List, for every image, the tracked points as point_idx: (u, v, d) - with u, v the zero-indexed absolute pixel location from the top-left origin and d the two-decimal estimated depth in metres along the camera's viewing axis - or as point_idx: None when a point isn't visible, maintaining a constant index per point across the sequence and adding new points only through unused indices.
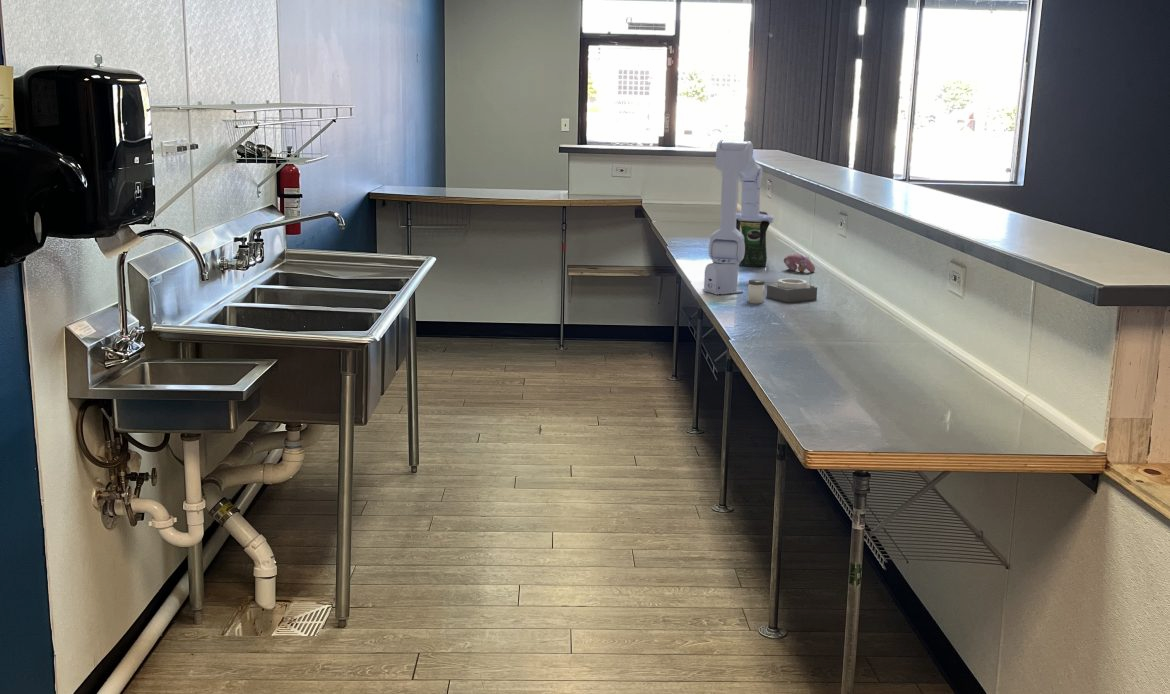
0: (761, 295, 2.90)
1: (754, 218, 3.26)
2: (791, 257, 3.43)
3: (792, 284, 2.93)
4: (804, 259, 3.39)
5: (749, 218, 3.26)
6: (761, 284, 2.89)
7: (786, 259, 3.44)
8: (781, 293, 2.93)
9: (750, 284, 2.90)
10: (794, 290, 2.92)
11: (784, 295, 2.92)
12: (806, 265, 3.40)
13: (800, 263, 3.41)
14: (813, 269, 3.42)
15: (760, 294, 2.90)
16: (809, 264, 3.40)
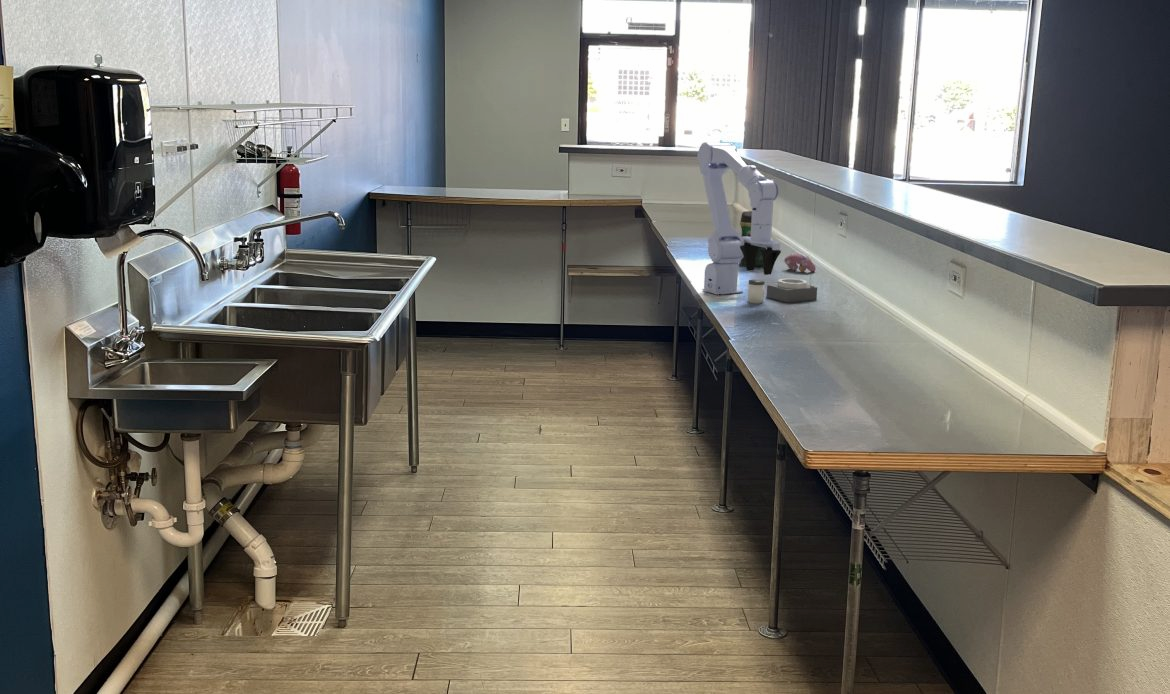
0: (761, 295, 2.90)
1: (758, 242, 2.85)
2: (792, 257, 3.43)
3: (792, 284, 2.93)
4: (805, 259, 3.40)
5: (753, 241, 2.86)
6: (761, 284, 2.89)
7: (787, 259, 3.44)
8: (781, 293, 2.93)
9: (750, 284, 2.90)
10: (794, 290, 2.92)
11: (784, 295, 2.92)
12: (807, 265, 3.40)
13: (801, 263, 3.41)
14: (814, 269, 3.42)
15: (760, 294, 2.90)
16: (810, 264, 3.40)
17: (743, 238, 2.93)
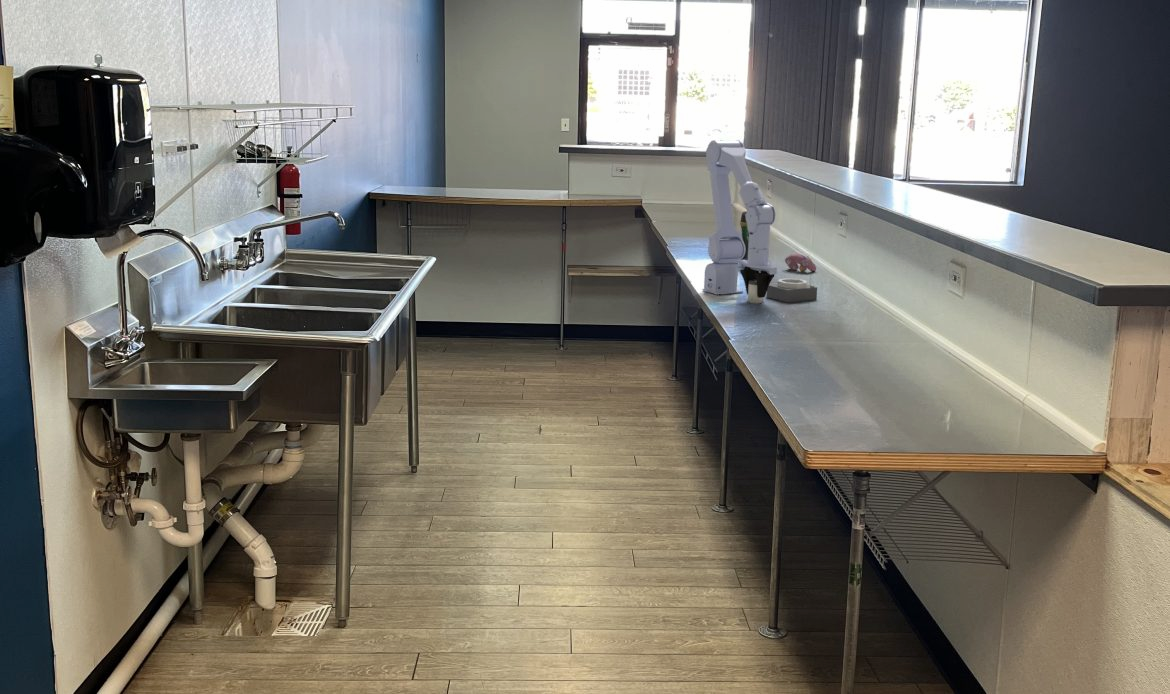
0: None
1: (754, 266, 2.87)
2: (792, 257, 3.43)
3: (792, 284, 2.93)
4: (805, 259, 3.40)
5: (750, 265, 2.88)
6: None
7: (787, 259, 3.45)
8: (781, 293, 2.93)
9: (750, 284, 2.90)
10: (794, 290, 2.92)
11: (784, 295, 2.92)
12: (807, 265, 3.40)
13: (801, 263, 3.42)
14: (814, 269, 3.43)
15: None
16: (810, 264, 3.41)
17: (740, 261, 2.95)
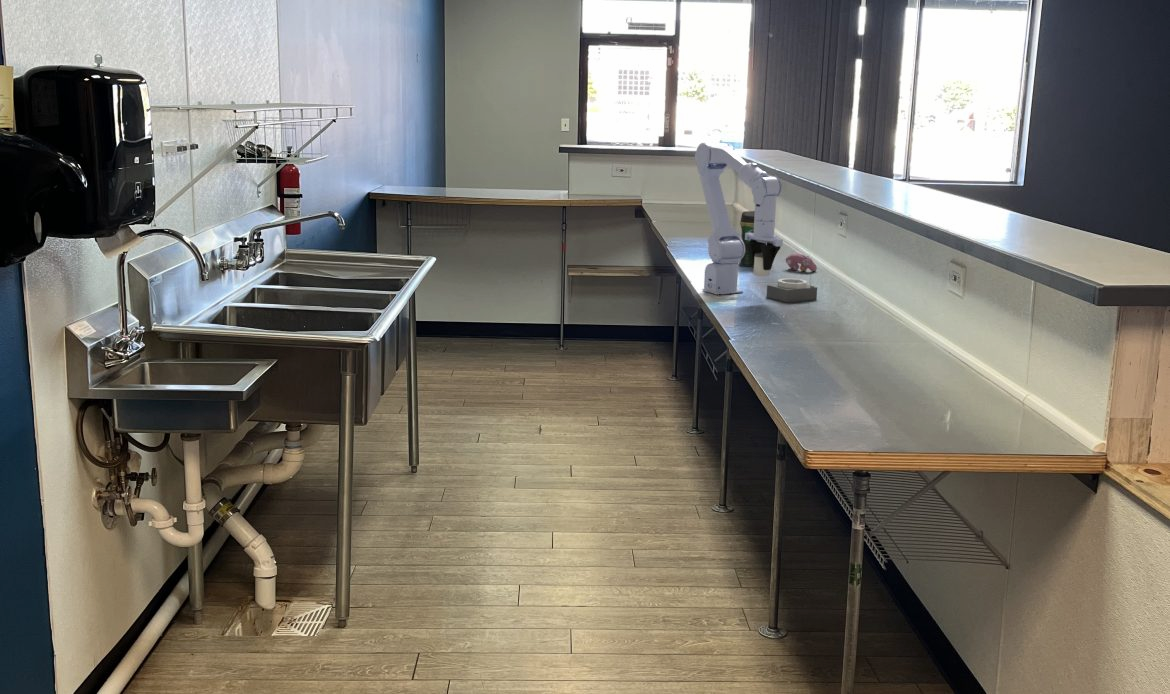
0: None
1: (760, 238, 2.86)
2: (793, 257, 3.44)
3: (792, 284, 2.93)
4: (806, 258, 3.41)
5: (756, 237, 2.87)
6: None
7: (788, 259, 3.45)
8: (781, 293, 2.93)
9: (756, 256, 2.89)
10: (794, 290, 2.92)
11: (784, 295, 2.92)
12: (808, 264, 3.41)
13: (802, 262, 3.42)
14: (815, 268, 3.43)
15: None
16: (811, 263, 3.41)
17: (746, 234, 2.93)
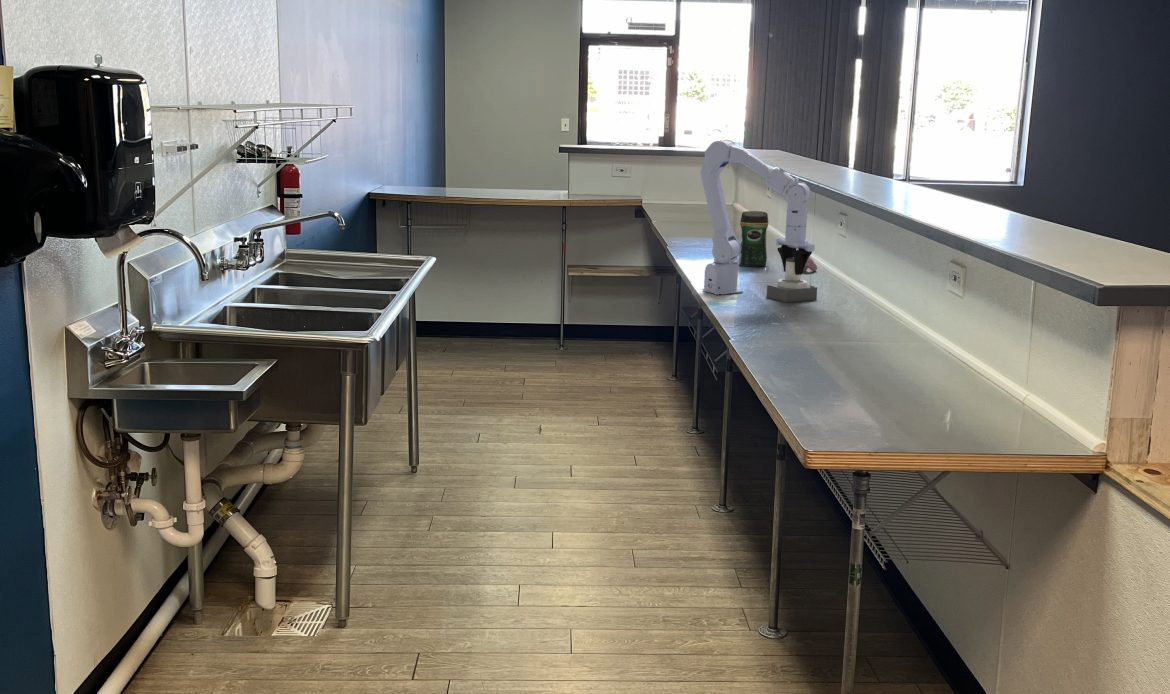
0: None
1: (792, 243, 2.92)
2: None
3: (792, 284, 2.93)
4: None
5: (788, 242, 2.93)
6: None
7: None
8: (781, 293, 2.93)
9: (788, 261, 2.95)
10: (794, 290, 2.92)
11: (784, 295, 2.92)
12: (809, 264, 3.41)
13: None
14: (815, 268, 3.43)
15: None
16: (811, 263, 3.41)
17: (777, 240, 2.99)
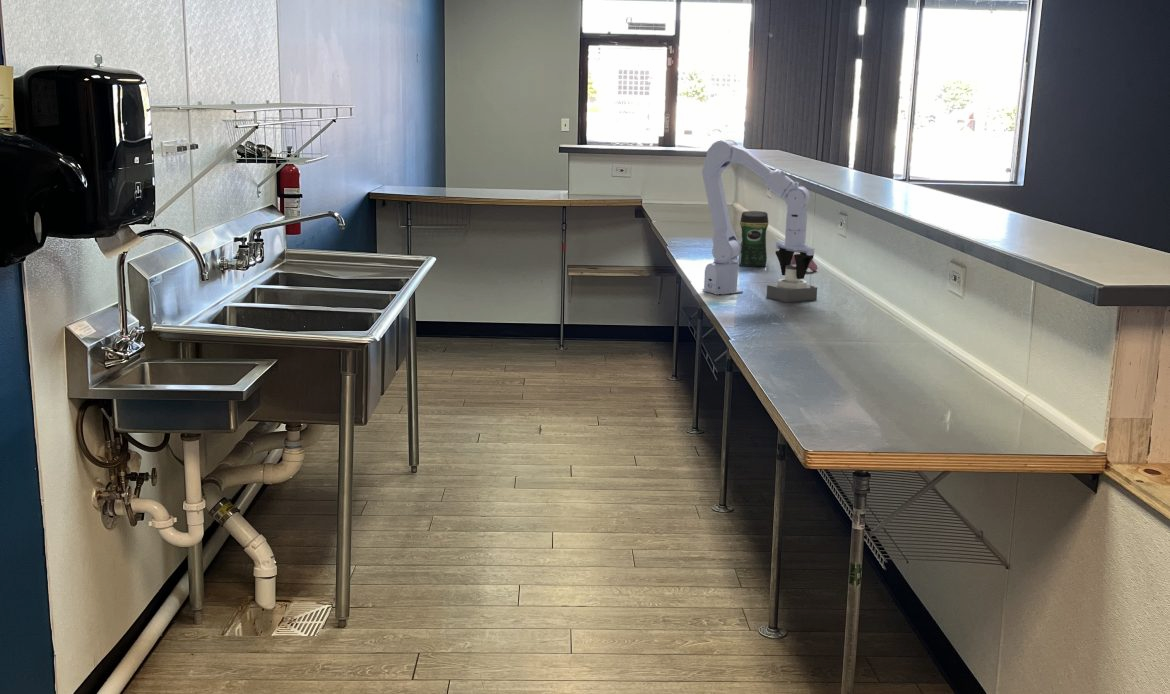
0: (797, 279, 2.95)
1: (792, 247, 2.92)
2: None
3: (792, 284, 2.93)
4: None
5: (787, 246, 2.93)
6: None
7: None
8: (781, 293, 2.93)
9: (787, 268, 2.95)
10: (794, 290, 2.92)
11: (784, 295, 2.92)
12: (809, 264, 3.41)
13: None
14: (816, 268, 3.44)
15: None
16: (812, 263, 3.41)
17: (777, 243, 3.00)
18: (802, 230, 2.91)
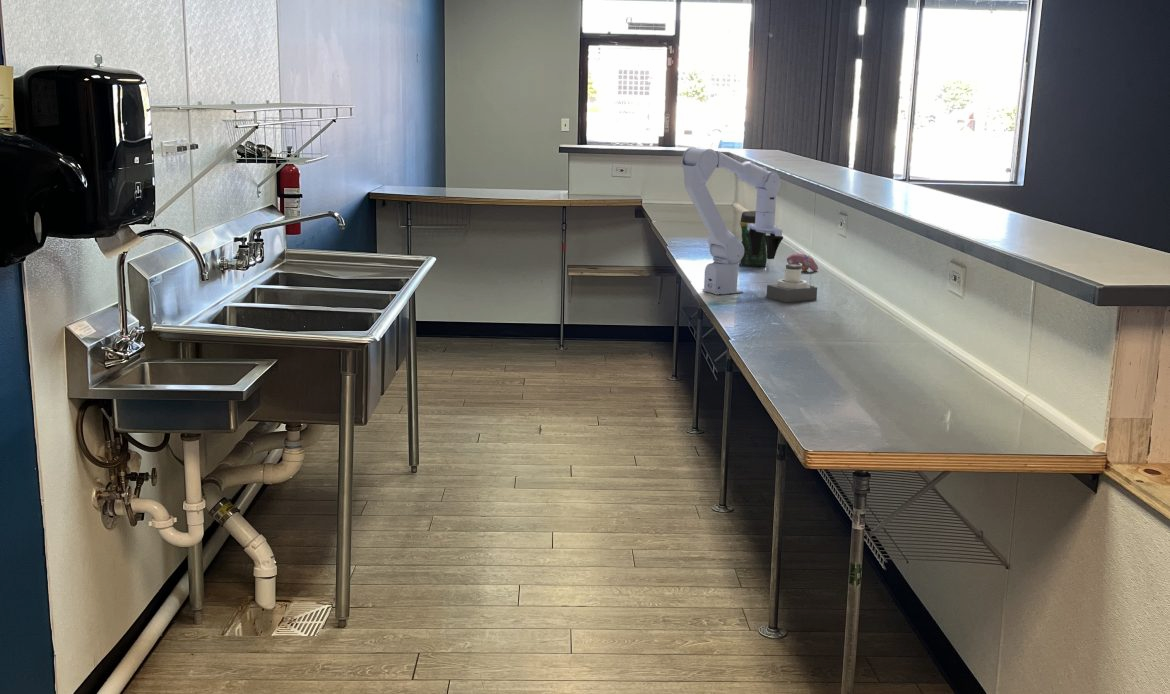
0: (798, 279, 2.95)
1: (761, 228, 3.05)
2: (794, 256, 3.44)
3: (792, 284, 2.93)
4: (807, 258, 3.41)
5: (757, 228, 3.06)
6: (798, 268, 2.94)
7: (789, 258, 3.46)
8: (781, 293, 2.93)
9: (787, 268, 2.95)
10: (794, 290, 2.92)
11: (784, 295, 2.92)
12: (809, 264, 3.41)
13: (803, 262, 3.43)
14: (816, 268, 3.44)
15: (797, 278, 2.95)
16: (812, 263, 3.42)
17: (749, 225, 3.13)
18: (771, 212, 3.05)
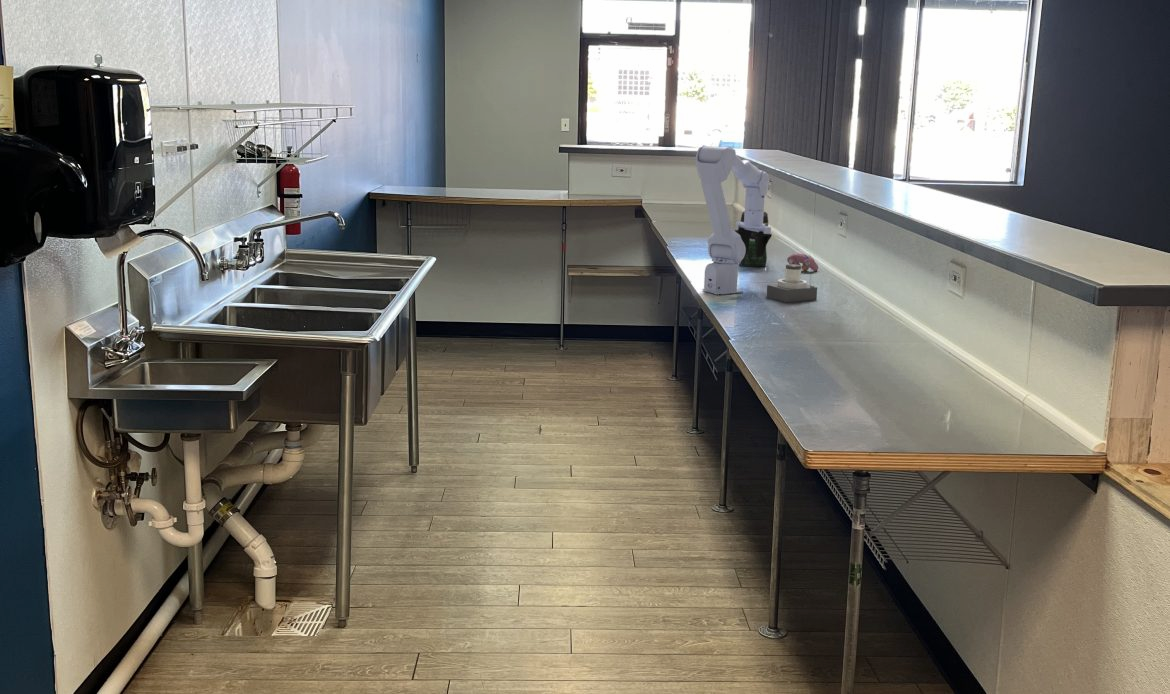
0: (798, 279, 2.95)
1: (750, 226, 3.11)
2: (795, 256, 3.45)
3: (792, 284, 2.93)
4: (808, 258, 3.41)
5: (746, 226, 3.12)
6: (798, 268, 2.94)
7: (790, 258, 3.46)
8: (781, 293, 2.93)
9: (787, 268, 2.95)
10: (794, 290, 2.92)
11: (784, 295, 2.92)
12: (810, 264, 3.42)
13: (804, 262, 3.43)
14: (817, 268, 3.44)
15: (797, 278, 2.95)
16: (813, 263, 3.42)
17: (737, 223, 3.18)
18: (760, 210, 3.10)
